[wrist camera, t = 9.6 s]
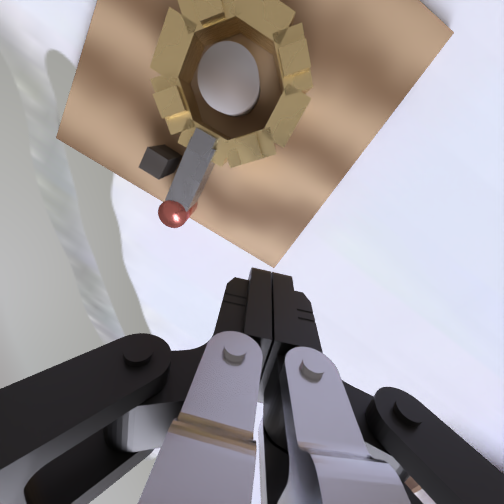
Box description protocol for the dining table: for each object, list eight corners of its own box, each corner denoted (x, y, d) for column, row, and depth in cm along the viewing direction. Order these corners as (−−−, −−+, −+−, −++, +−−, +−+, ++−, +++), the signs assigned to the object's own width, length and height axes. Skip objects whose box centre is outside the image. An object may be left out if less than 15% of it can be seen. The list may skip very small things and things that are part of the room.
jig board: (172, -214, 17) (123, -397, 11) (446, 36, 22) (515, 0, 16) (63, 137, 26) (3, 139, 20) (273, 263, 30) (275, 296, 24)
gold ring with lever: (330, 56, 21) (346, 38, 17) (230, 238, 28) (223, 258, 24) (203, -31, 20) (185, -75, 15) (127, 185, 26) (101, 196, 22)
